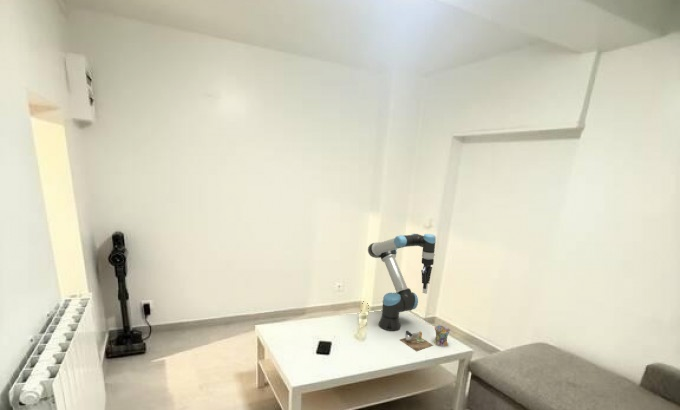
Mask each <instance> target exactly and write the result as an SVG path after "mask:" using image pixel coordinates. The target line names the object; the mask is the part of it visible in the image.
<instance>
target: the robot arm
mask: <svg viewBox="0 0 680 410" xmlns="http://www.w3.org/2000/svg"><path fill="white" fill-rule="evenodd" d="M436 238H437V237H436V235H434V234H432V233H425V234H423V235H421V234H419V233H411V234H406V235H402V234H400V235H397V236H395V237H393V238H390V239H387V240H384V241H380V242H372V243H370V244H369V245H368V247H367V253H368V255H369V256H370V257H372V258H374V259H379V258H380V260H381V262H383V263H384V266H385V267H386V269H387V272H388V275H389V277H390V280H391V282H392V284H393V287H394V290H395V292H387V293H386V294H384V295H383V298H382V299H383V300H382V309H381V317H380V320H379V321H378V327H379V328H380V329H381V330H383V331H385V332H397V331H400V330H401V328H402V325H401V321H400V313H402V312H407V311H410V312H411V311H413V310H415V309H416V308H417V307H418V304H419V297H418V295H417V294H416V293H415V292H412V290H411V288H410V287H408V286H407V283H406V281H405V278H404V276H403V273H402V272H401V270H400V269H401V268H400V267H399V264H398V262H397V259H396V257H397V253H398V252H397V251H398V249H401V248H402V249H403V248H408V247H421V248H422V250H421V251H422V253H421V264H423V267H422V269H421V284H422V294H428V288H429V284H430V281H431V277H432V271H433V265H434V263H435V261H434V260H435V259H434V258H435V256H436V255H435V249H436Z"/></svg>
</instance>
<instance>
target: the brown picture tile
mask: <svg viewBox="0 0 680 410" xmlns="http://www.w3.org/2000/svg"><path fill="white" fill-rule="evenodd" d="M399 341H400V342H402V343H403V344H405V345H406V346H407V347H409V348H410V349H412V350H413V351H415V352H419V351H421V350H425V349H428V348H430V347H433V346H434V344H432V343H430V342H429V341H427V340H426V339H424V338H423V337H422V338H421V339H417V340H413V341H411V342H406V341H405V337H404V338H400V339H399Z"/></svg>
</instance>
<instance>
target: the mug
mask: <svg viewBox="0 0 680 410" xmlns="http://www.w3.org/2000/svg"><path fill="white" fill-rule="evenodd" d="M434 330H435V339H434V341H433V343H434V344H435V345H436V346H438V347H442V348H446V347H447V346H449V343H448V335H449V334H450V332H451V330H450V328H449V327H447V326H444V325H435V326H434Z"/></svg>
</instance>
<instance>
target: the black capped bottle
mask: <svg viewBox="0 0 680 410" xmlns="http://www.w3.org/2000/svg"><path fill="white" fill-rule="evenodd" d="M422 335H423V333H422V331H416V332H414V333H413V332H410V331H409V330H406V331H405V337H404V338H405V341H406V342H411V341H413V340H417V339H421V338H422V339H423V337H422Z"/></svg>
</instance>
